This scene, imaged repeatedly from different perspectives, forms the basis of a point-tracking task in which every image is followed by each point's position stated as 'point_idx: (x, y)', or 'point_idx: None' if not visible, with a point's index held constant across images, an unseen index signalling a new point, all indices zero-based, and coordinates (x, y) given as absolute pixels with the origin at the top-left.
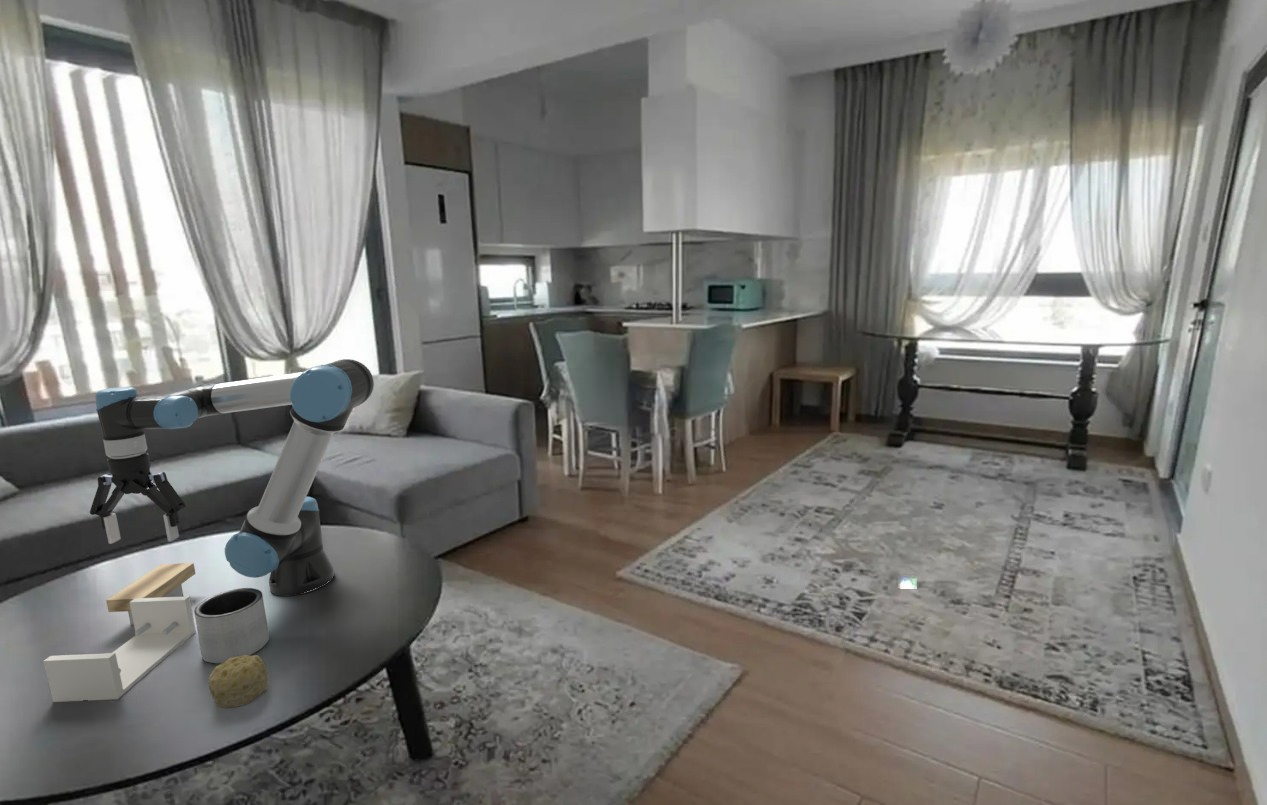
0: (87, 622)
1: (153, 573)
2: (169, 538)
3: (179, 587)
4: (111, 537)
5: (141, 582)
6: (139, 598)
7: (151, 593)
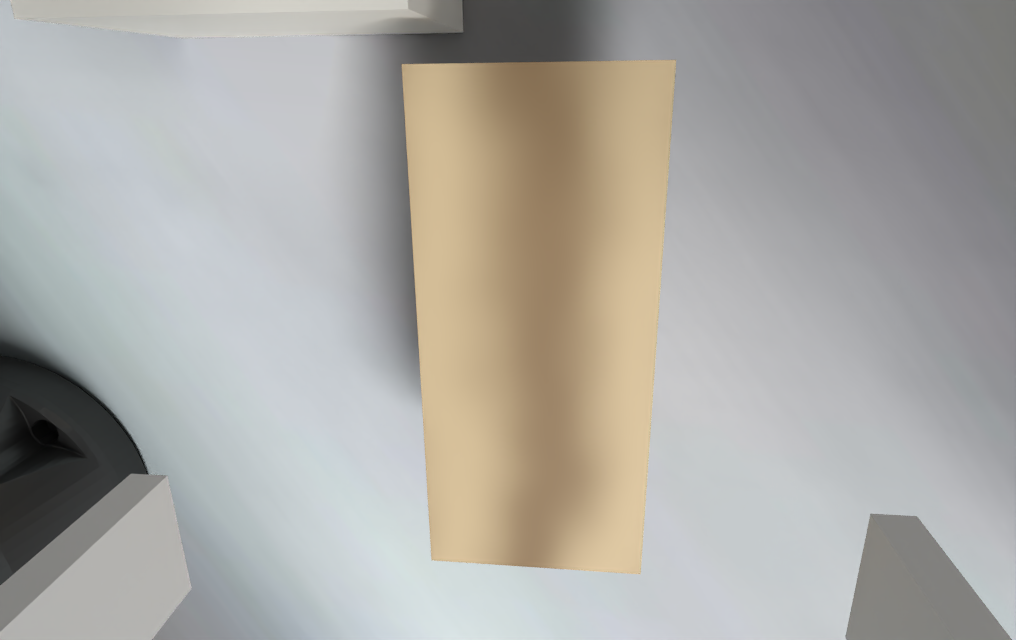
0: (879, 191)
1: (602, 450)
2: (122, 496)
3: None
4: (906, 582)
5: (595, 327)
6: (372, 9)
7: (410, 162)
